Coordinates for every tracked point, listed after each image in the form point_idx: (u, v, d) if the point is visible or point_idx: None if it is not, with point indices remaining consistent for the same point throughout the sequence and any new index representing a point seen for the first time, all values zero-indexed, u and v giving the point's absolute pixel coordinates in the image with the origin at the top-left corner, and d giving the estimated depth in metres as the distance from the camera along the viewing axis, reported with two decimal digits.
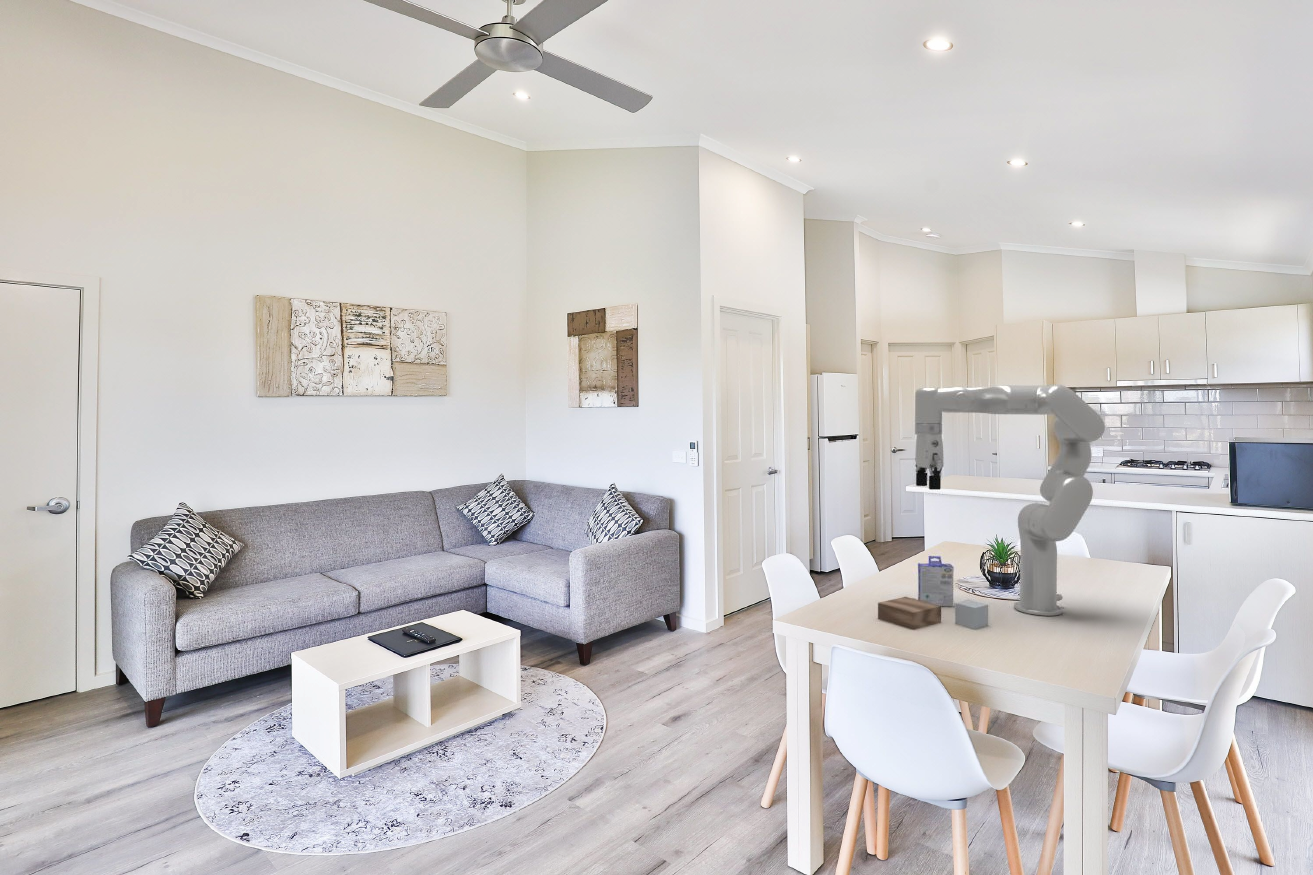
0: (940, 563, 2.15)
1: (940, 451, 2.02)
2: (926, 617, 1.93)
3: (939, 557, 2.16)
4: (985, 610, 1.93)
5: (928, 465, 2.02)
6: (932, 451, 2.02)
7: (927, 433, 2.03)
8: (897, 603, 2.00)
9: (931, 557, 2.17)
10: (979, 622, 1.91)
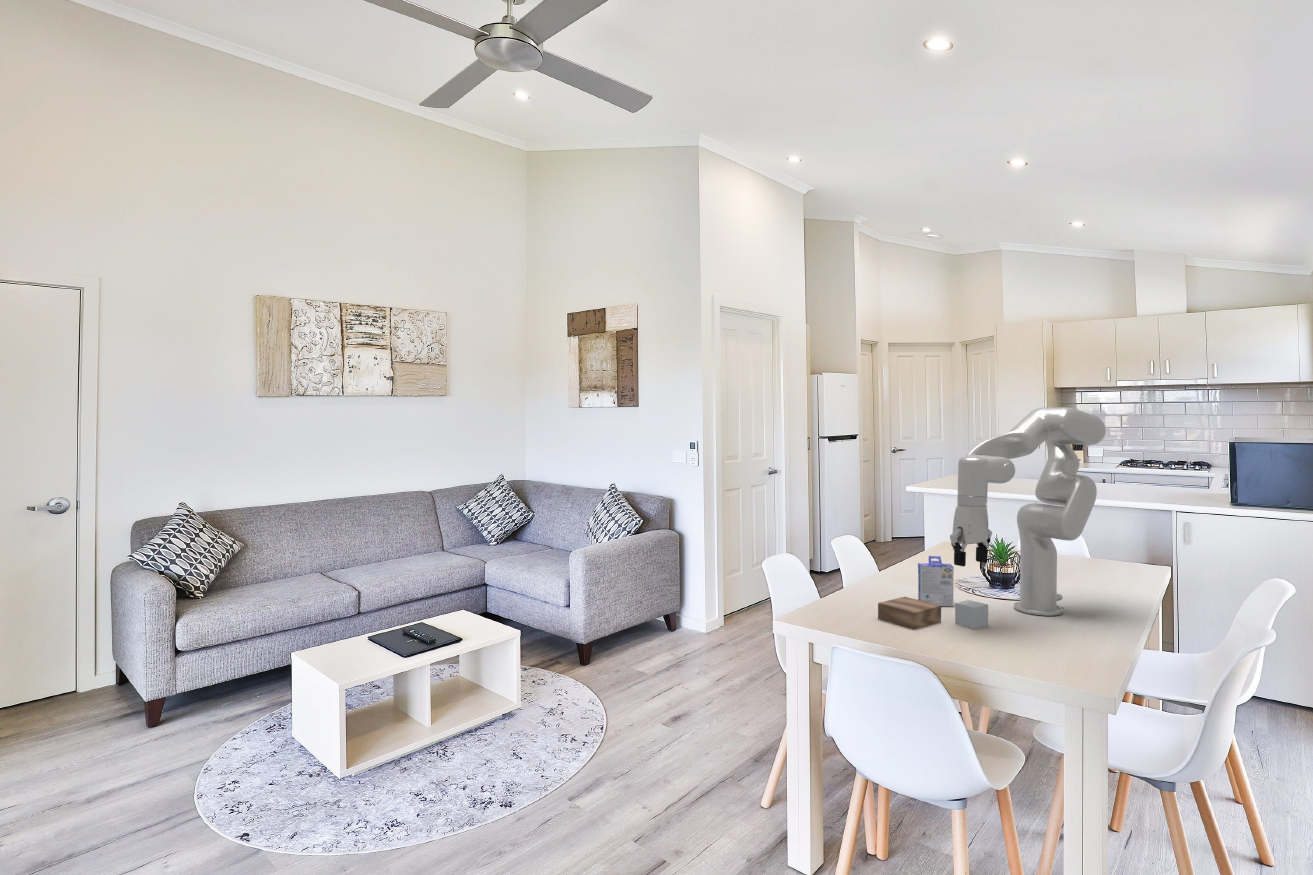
0: (940, 563, 2.15)
1: None
2: (926, 617, 1.93)
3: (939, 557, 2.16)
4: (985, 610, 1.93)
5: None
6: None
7: None
8: (897, 603, 1.99)
9: (931, 557, 2.17)
10: (979, 622, 1.91)
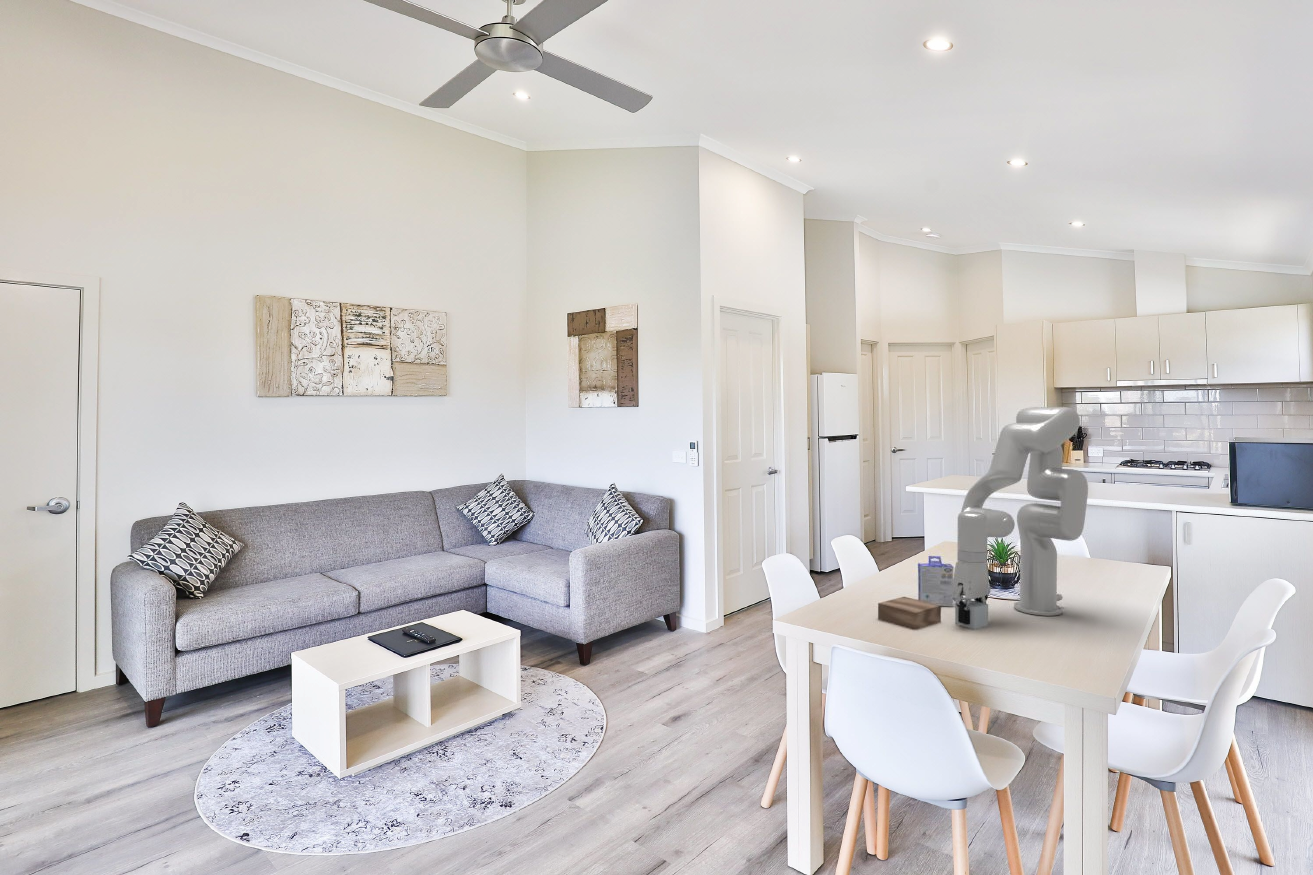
0: (940, 563, 2.15)
1: None
2: (926, 616, 1.93)
3: (939, 557, 2.16)
4: (985, 610, 1.92)
5: (987, 592, 1.95)
6: None
7: None
8: (897, 603, 1.99)
9: (931, 557, 2.17)
10: (979, 622, 1.91)
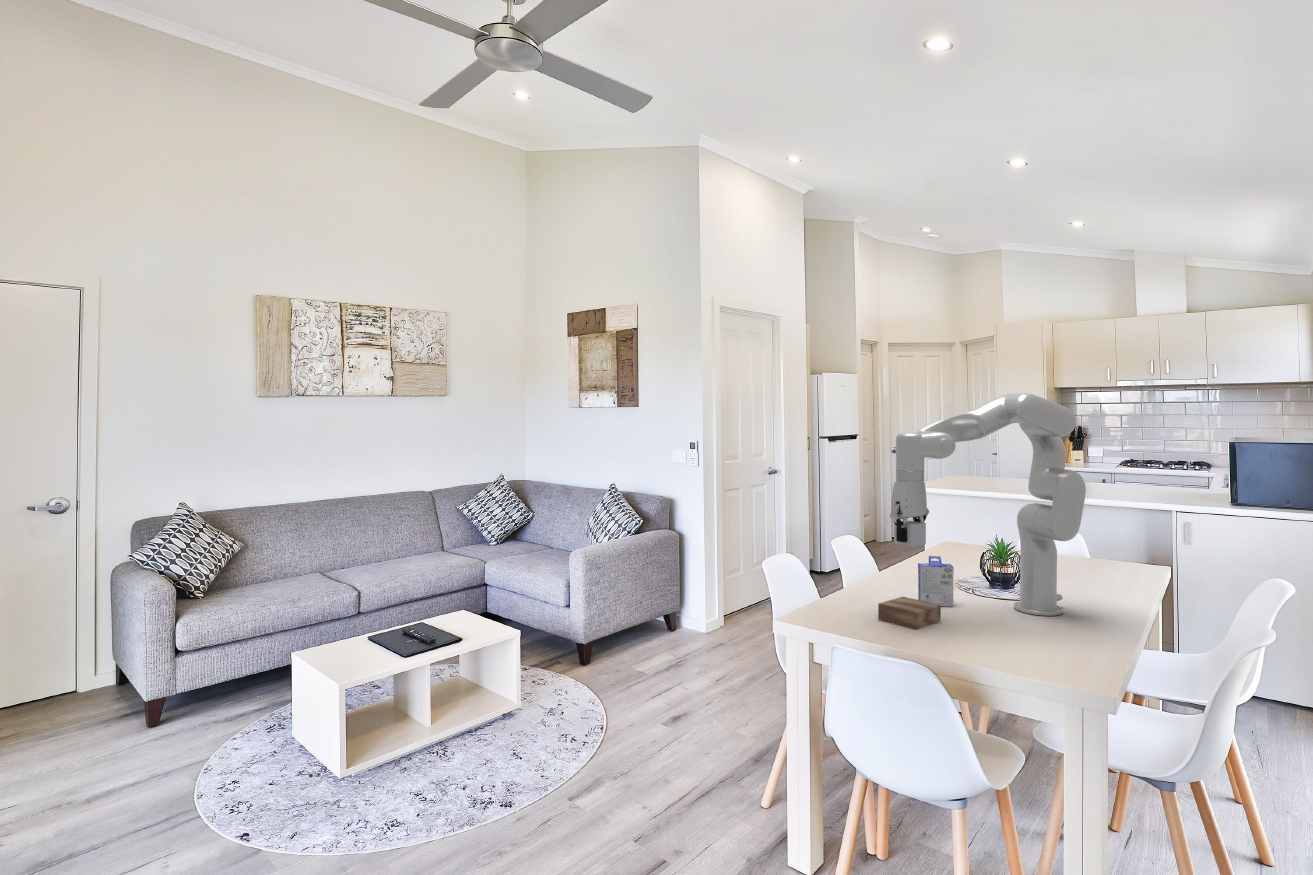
0: (940, 563, 2.15)
1: None
2: (927, 616, 1.93)
3: (939, 557, 2.16)
4: (923, 528, 1.96)
5: (925, 512, 1.99)
6: None
7: None
8: (897, 603, 1.99)
9: (931, 557, 2.17)
10: (916, 539, 1.95)
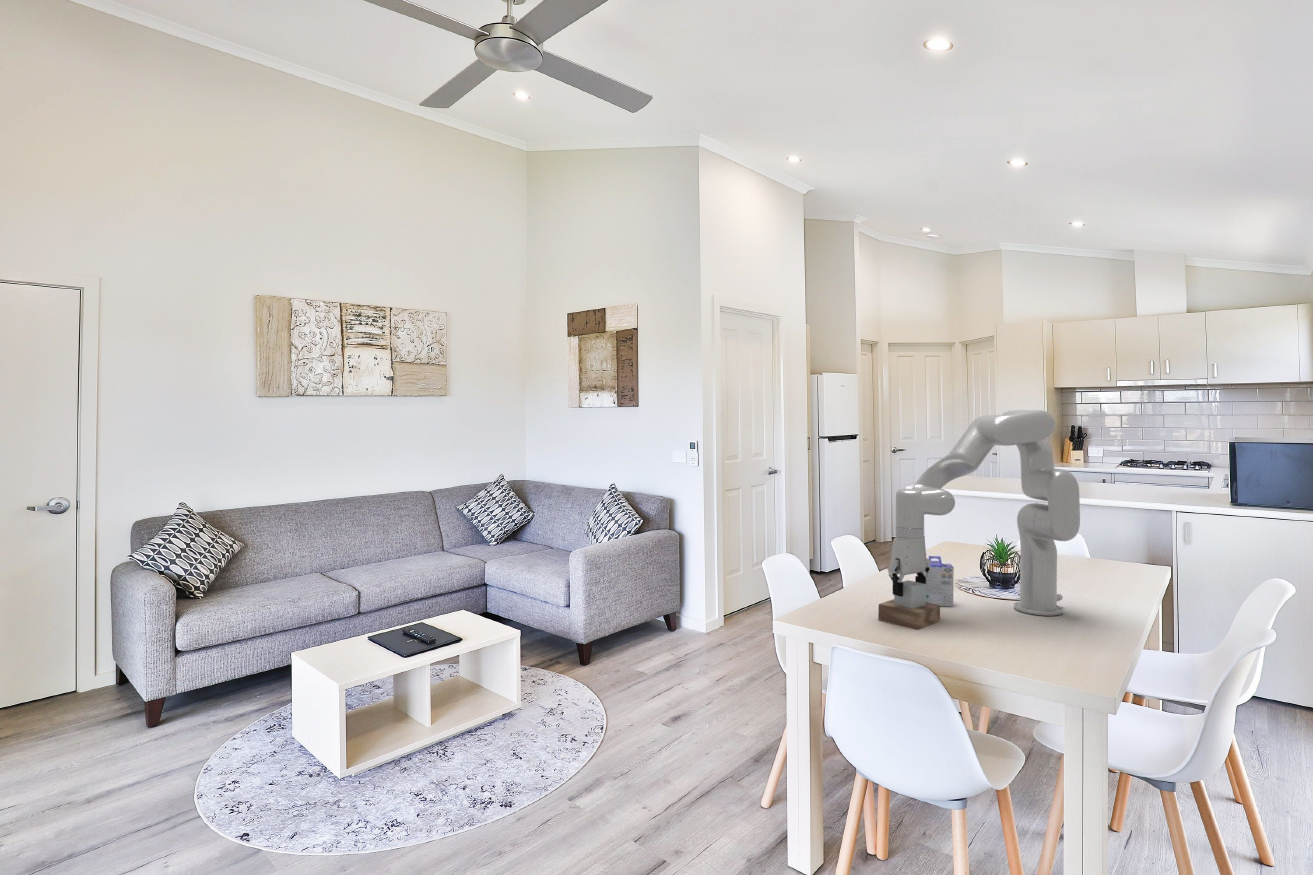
0: (940, 563, 2.15)
1: None
2: (928, 616, 1.94)
3: (939, 557, 2.16)
4: (923, 589, 1.97)
5: (925, 568, 1.99)
6: None
7: None
8: None
9: (931, 557, 2.17)
10: (917, 601, 1.95)
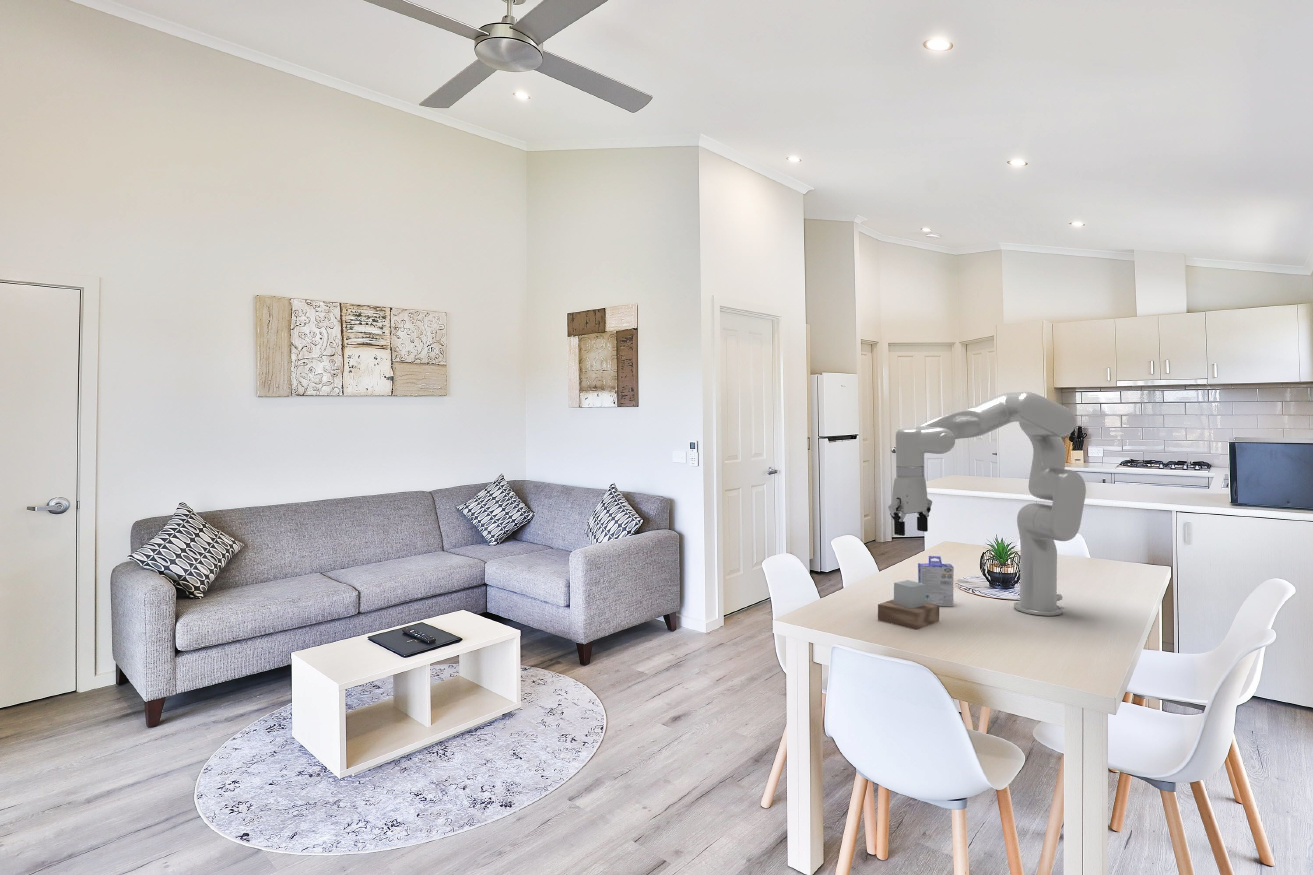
0: (940, 563, 2.15)
1: None
2: (927, 616, 1.94)
3: (939, 557, 2.16)
4: (922, 589, 1.97)
5: (926, 507, 1.99)
6: None
7: None
8: (896, 604, 1.99)
9: (931, 557, 2.17)
10: (916, 601, 1.96)
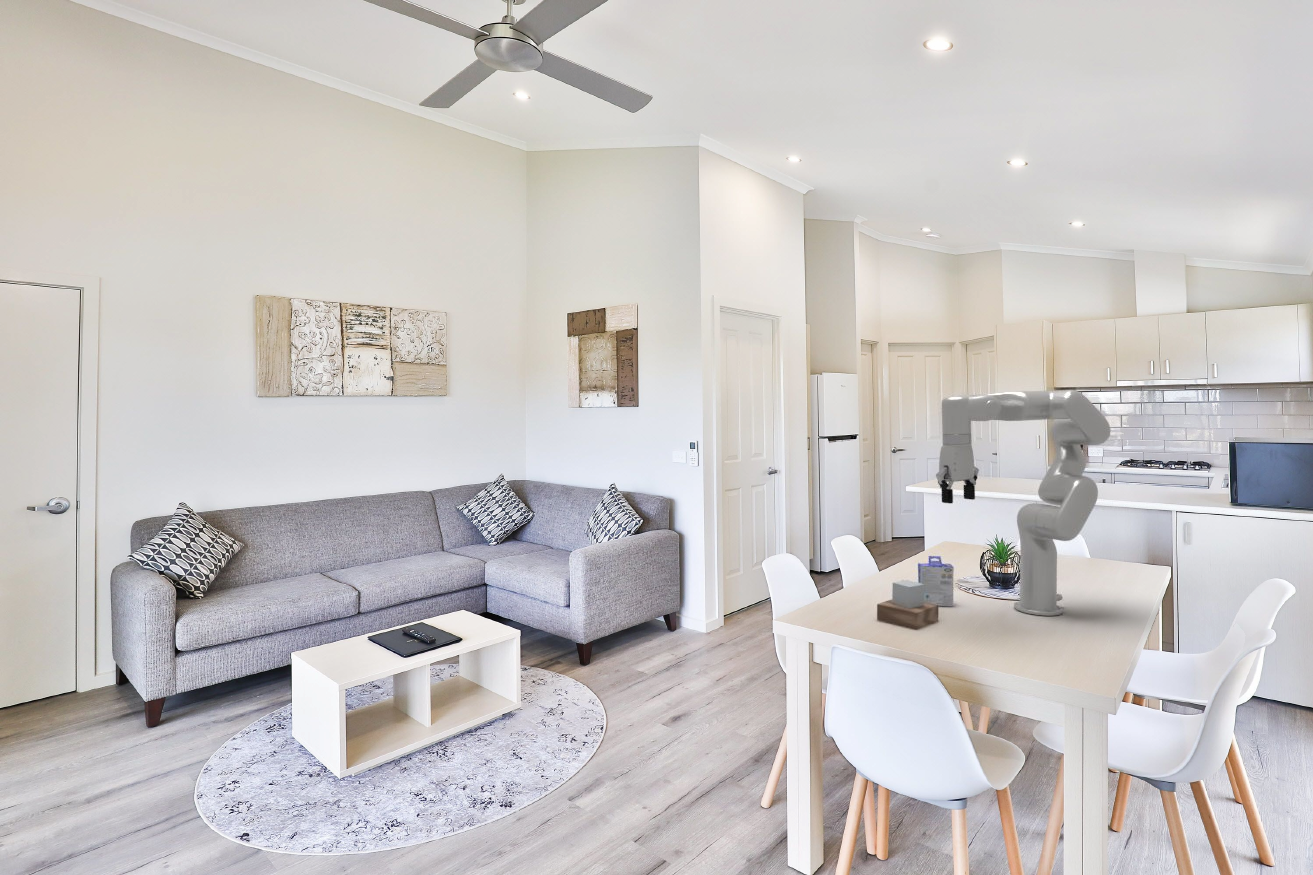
0: (940, 563, 2.15)
1: None
2: (926, 616, 1.94)
3: (939, 557, 2.16)
4: (921, 590, 1.97)
5: (973, 475, 1.98)
6: None
7: None
8: None
9: (931, 557, 2.17)
10: (914, 601, 1.95)
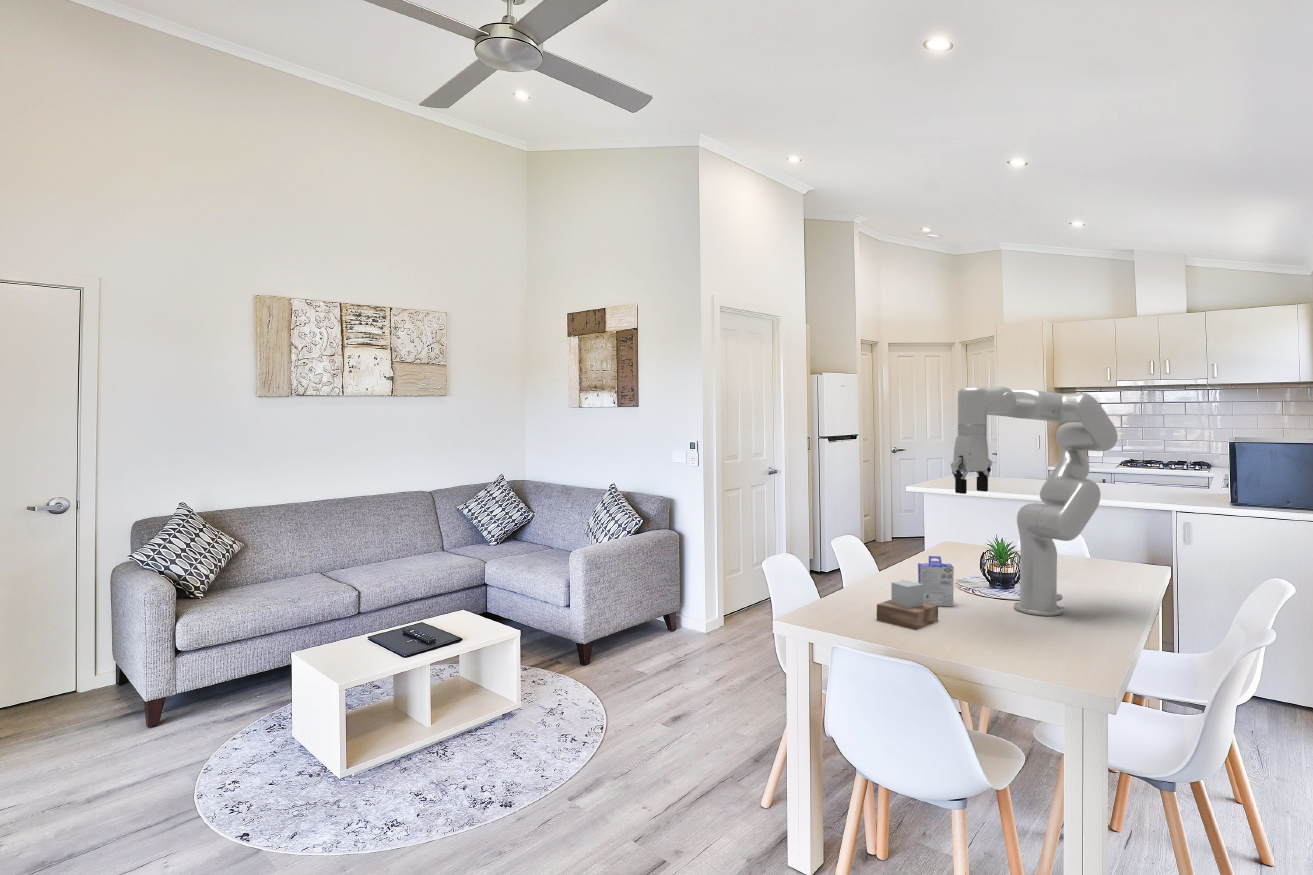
0: (940, 563, 2.15)
1: None
2: (926, 616, 1.94)
3: (939, 557, 2.16)
4: (920, 590, 1.97)
5: (987, 467, 1.98)
6: None
7: None
8: None
9: (931, 557, 2.17)
10: (913, 601, 1.96)
